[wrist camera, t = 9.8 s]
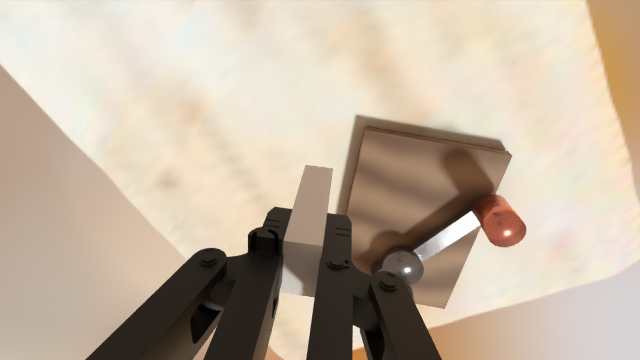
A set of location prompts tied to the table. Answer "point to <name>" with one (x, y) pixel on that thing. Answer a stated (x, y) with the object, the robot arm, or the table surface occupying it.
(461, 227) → the lever
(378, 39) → the table surface
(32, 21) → the table surface
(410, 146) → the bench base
